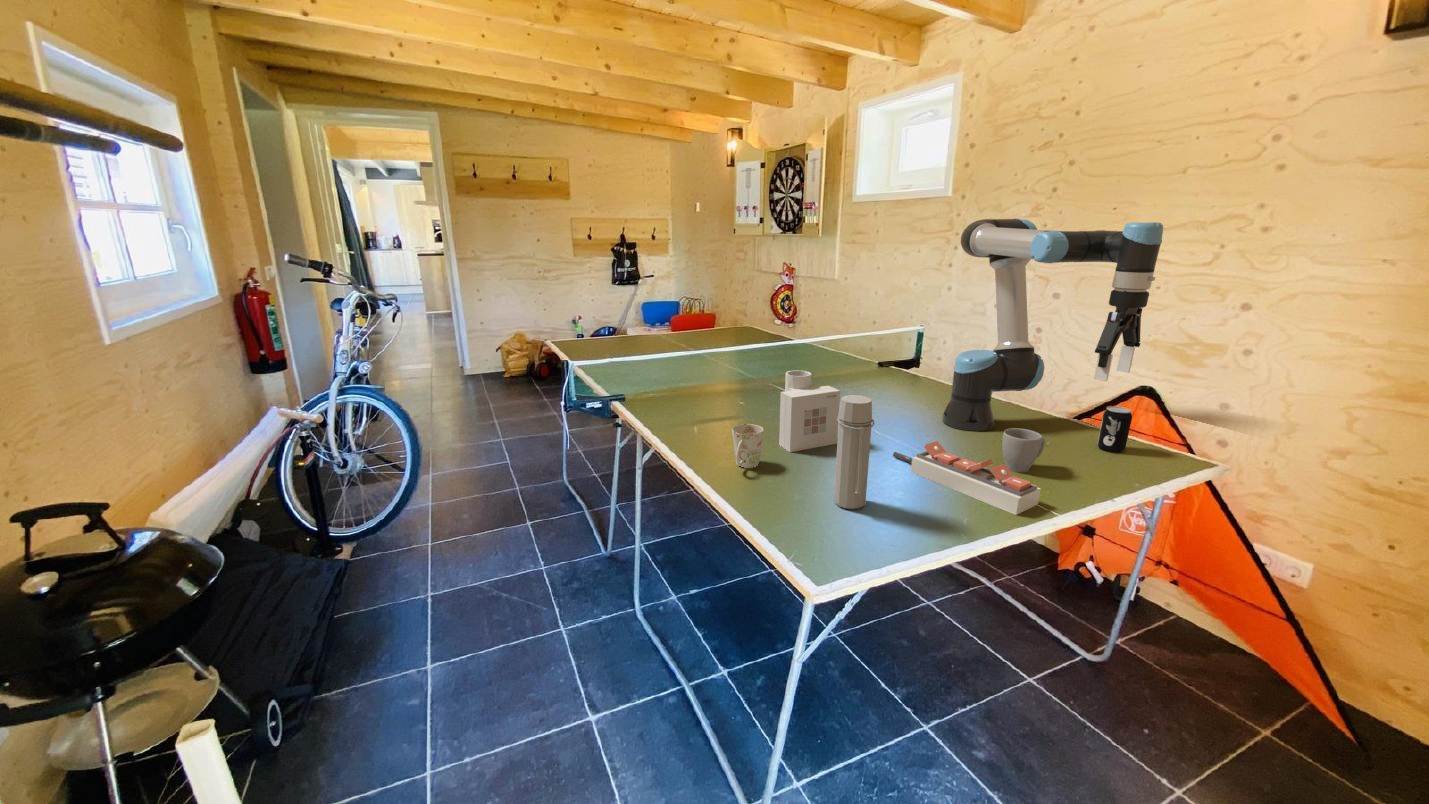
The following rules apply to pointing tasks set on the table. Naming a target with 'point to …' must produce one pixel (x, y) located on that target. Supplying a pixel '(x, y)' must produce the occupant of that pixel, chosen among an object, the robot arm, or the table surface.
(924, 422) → the table surface
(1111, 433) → the beverage can
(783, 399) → the white detergent container
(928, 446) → the rocker
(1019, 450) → the mug
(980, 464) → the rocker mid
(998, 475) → the rocker
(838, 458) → the water bottle
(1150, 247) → the robot arm
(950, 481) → the power strip
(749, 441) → the mug
